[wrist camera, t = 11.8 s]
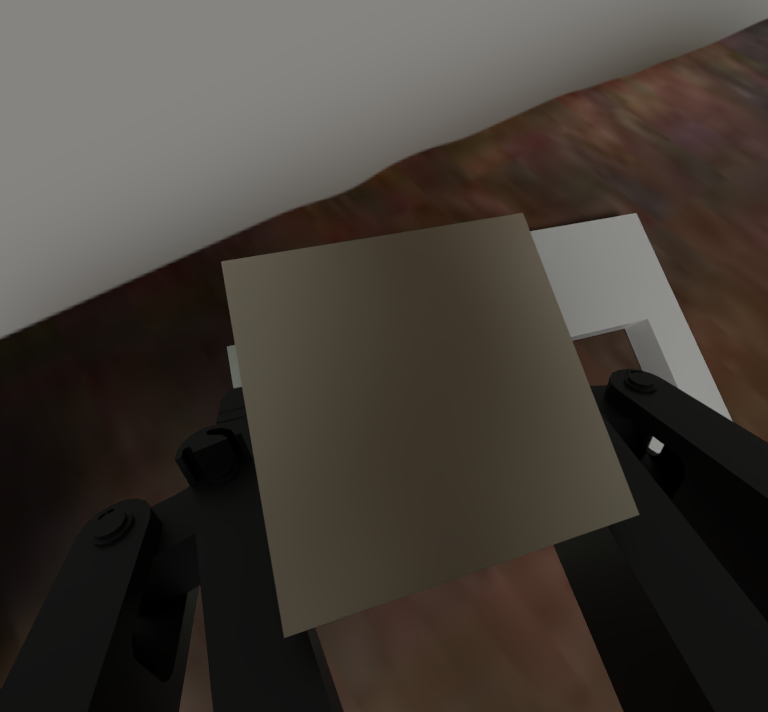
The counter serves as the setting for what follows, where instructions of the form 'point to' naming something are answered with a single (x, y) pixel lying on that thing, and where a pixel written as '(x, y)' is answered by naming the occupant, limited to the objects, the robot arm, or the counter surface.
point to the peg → (413, 413)
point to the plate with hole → (624, 300)
